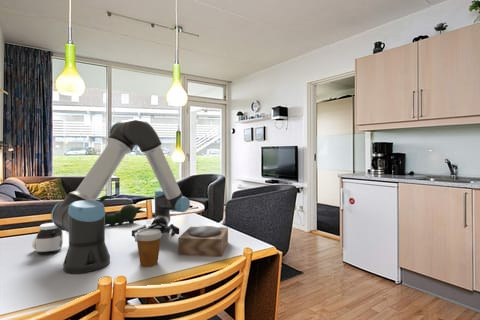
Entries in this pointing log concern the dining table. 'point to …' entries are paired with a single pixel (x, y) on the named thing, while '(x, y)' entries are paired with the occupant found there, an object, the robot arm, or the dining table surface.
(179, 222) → the dining table surface
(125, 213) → the dark green lumpy figure
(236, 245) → the dining table surface
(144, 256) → the disposable coffee cup
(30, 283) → the dining table surface
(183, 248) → the block
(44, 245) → the spread jar
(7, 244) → the dining table surface
